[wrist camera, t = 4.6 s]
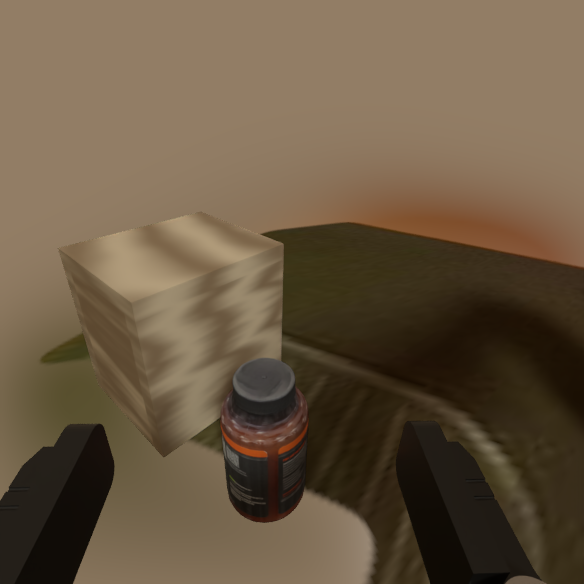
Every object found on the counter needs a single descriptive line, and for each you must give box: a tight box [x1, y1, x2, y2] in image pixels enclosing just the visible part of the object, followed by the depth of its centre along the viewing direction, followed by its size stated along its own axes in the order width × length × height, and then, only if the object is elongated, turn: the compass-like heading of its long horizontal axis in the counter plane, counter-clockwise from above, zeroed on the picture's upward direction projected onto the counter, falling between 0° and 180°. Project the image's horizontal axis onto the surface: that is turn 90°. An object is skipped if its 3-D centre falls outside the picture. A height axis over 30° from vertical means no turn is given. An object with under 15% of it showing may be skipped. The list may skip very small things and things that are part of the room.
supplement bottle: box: [220, 358, 308, 523], centre depth 27 cm, size 6×6×11 cm
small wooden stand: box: [58, 212, 284, 457], centre depth 36 cm, size 14×12×15 cm
